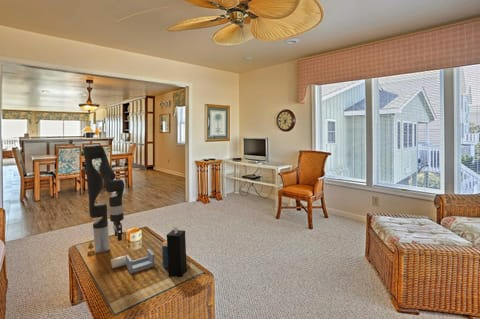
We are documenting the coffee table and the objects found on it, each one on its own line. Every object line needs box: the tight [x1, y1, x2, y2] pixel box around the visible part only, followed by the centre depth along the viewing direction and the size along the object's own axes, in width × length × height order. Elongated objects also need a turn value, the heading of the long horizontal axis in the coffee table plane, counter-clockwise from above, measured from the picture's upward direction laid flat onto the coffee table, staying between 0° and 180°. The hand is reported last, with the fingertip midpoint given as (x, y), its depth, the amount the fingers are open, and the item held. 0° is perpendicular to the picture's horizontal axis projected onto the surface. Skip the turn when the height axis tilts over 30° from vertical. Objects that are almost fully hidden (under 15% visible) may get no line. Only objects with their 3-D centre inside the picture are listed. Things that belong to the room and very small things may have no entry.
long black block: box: [166, 226, 188, 278], centre depth 150 cm, size 8×8×28 cm
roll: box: [110, 254, 127, 269], centre depth 161 cm, size 9×6×6 cm, turn 126°
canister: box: [161, 239, 168, 270], centre depth 161 cm, size 13×13×18 cm
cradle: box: [125, 248, 155, 274], centre depth 160 cm, size 10×14×8 cm
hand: (118, 238), depth 159 cm, fingers open, 8 cm apart
